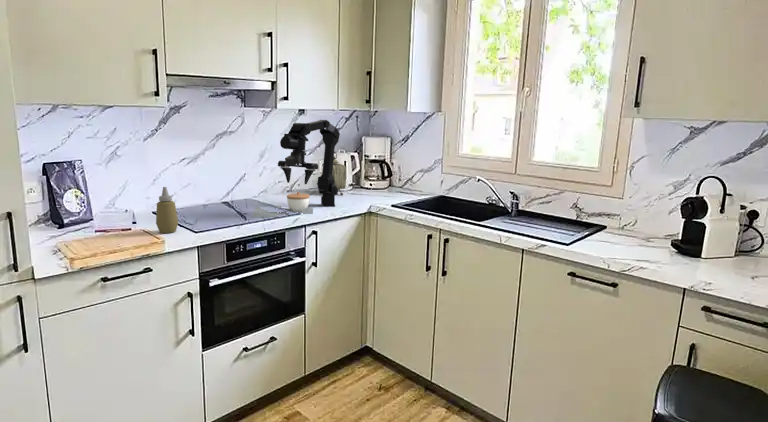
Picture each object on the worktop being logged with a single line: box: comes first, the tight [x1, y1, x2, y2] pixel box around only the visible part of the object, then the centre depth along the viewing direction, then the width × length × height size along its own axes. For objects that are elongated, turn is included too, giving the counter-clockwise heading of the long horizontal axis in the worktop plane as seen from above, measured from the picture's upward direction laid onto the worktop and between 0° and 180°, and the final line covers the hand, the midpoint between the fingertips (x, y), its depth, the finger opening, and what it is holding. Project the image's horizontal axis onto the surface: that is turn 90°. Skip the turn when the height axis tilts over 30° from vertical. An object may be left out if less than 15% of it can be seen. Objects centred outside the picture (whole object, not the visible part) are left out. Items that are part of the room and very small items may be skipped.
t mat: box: [250, 205, 314, 218], centre depth 240 cm, size 28×26×1 cm
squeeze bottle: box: [155, 186, 179, 234], centre depth 195 cm, size 8×8×18 cm
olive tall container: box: [321, 151, 347, 196], centre depth 288 cm, size 14×9×25 cm, turn 30°
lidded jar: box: [286, 191, 310, 212], centre depth 240 cm, size 11×11×9 cm
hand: (296, 183), depth 232 cm, fingers open, 9 cm apart
